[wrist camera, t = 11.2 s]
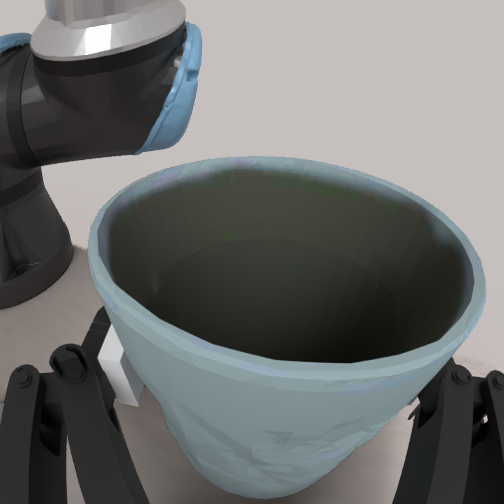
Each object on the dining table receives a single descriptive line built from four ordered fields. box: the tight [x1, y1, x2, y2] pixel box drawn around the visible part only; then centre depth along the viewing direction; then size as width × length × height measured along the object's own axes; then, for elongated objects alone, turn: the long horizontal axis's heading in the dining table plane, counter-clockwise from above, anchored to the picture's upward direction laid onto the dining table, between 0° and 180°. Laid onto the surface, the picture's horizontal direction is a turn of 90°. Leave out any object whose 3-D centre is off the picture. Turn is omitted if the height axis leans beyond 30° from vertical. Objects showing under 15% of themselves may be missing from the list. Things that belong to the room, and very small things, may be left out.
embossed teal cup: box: [87, 156, 486, 500], centre depth 11 cm, size 10×10×12 cm
